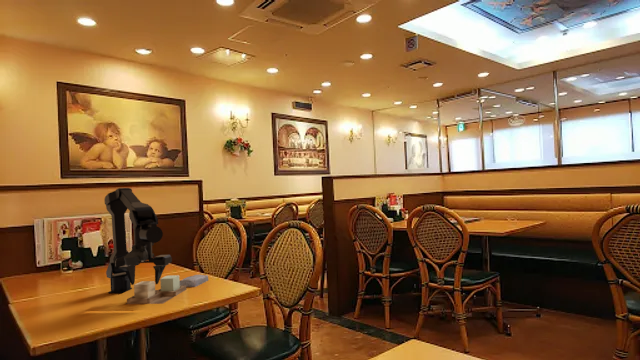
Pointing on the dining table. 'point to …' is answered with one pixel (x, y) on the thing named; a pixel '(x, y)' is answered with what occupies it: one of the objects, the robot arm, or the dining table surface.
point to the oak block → (144, 289)
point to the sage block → (170, 283)
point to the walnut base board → (157, 297)
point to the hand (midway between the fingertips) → (144, 284)
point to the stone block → (194, 280)
